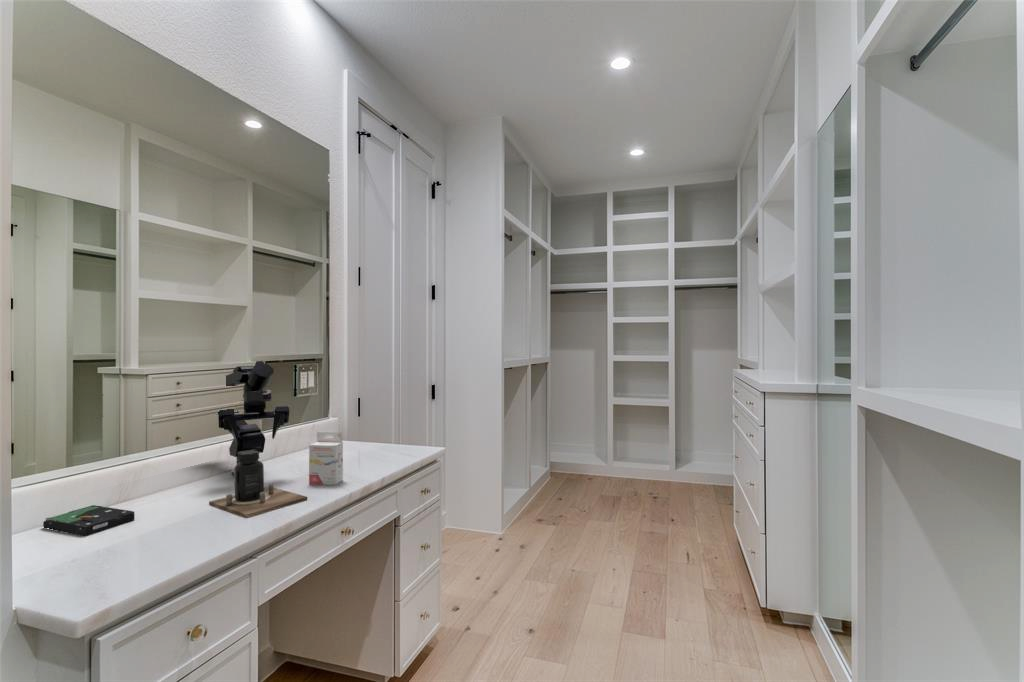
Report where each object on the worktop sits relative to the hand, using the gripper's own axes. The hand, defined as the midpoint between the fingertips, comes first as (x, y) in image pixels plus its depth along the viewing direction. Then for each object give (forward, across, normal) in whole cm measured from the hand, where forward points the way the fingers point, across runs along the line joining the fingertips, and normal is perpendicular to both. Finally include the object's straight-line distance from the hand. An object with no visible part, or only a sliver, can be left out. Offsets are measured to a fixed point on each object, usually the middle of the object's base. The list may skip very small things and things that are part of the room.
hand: (255, 439), depth 142 cm
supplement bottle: (+20, -2, -2) cm, 20 cm away
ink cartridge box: (+14, +18, +6) cm, 24 cm away
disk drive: (+20, -34, 0) cm, 40 cm away
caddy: (+21, 0, -2) cm, 21 cm away
